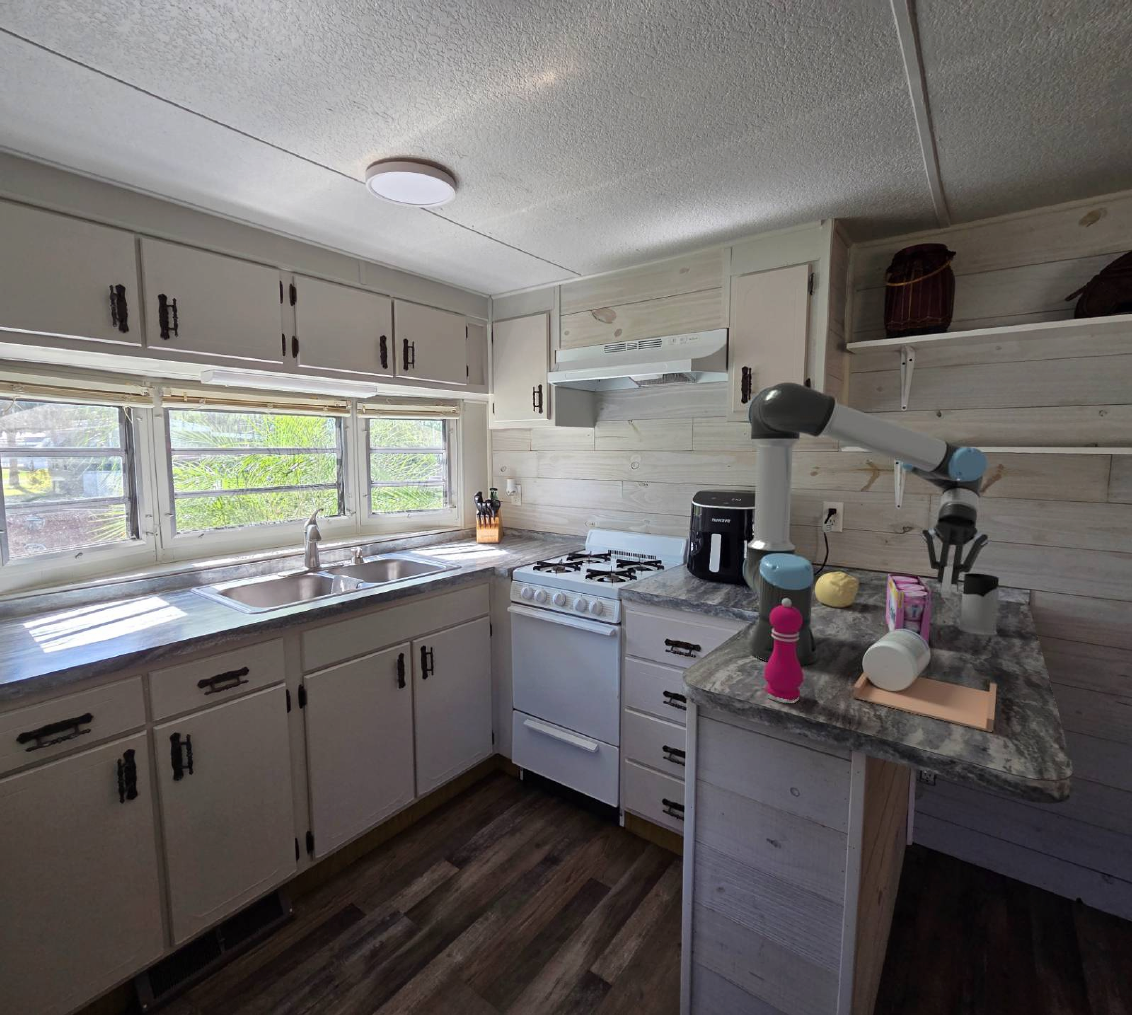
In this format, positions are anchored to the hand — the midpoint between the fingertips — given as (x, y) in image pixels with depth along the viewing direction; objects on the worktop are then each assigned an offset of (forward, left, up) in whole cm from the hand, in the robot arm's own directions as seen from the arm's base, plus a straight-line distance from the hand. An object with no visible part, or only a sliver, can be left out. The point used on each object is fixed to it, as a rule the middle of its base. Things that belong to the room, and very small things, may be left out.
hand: (945, 594), depth 124 cm
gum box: (+12, +25, -17) cm, 33 cm away
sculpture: (+9, +52, -17) cm, 55 cm away
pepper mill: (-42, -9, -17) cm, 47 cm away
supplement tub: (-10, -1, -12) cm, 15 cm away
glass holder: (+31, +26, -17) cm, 44 cm away
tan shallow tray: (-15, -13, -17) cm, 26 cm away
